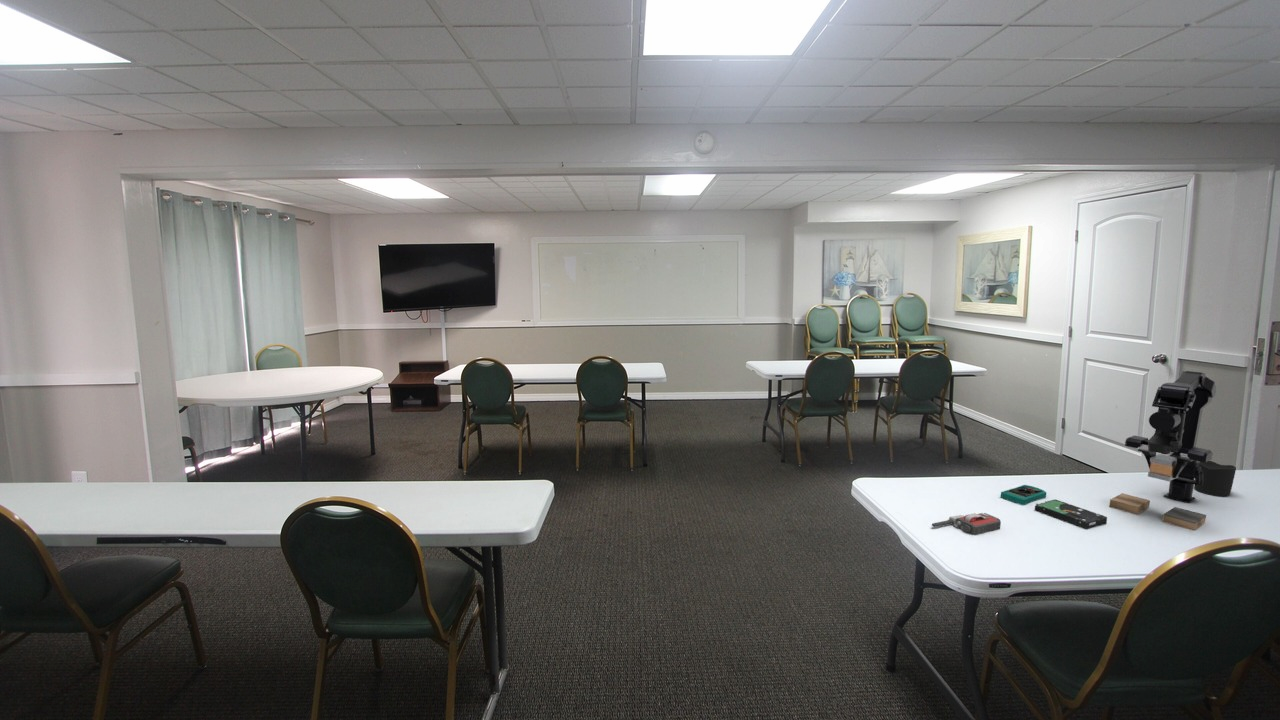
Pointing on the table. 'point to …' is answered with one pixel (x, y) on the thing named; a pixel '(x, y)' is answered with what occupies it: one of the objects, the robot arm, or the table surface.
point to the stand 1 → (1129, 503)
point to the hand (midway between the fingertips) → (1163, 475)
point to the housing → (1162, 467)
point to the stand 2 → (1184, 518)
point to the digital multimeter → (1023, 494)
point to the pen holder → (1216, 479)
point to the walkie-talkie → (973, 523)
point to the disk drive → (1071, 514)
